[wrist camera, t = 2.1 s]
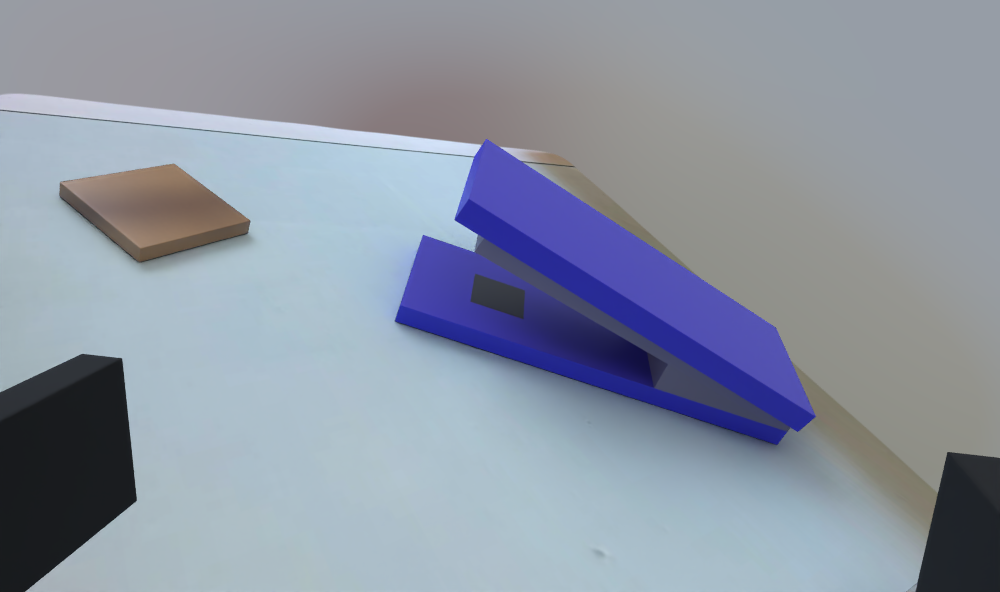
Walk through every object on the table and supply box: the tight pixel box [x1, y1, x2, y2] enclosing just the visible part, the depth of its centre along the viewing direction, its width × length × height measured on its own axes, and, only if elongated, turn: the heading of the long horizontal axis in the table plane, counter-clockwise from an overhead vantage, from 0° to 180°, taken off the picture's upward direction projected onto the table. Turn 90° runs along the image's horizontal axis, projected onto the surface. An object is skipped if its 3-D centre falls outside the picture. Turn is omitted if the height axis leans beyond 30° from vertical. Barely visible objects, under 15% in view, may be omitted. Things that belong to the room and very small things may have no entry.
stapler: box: [395, 139, 816, 445], centre depth 51 cm, size 12×28×10 cm, turn 86°
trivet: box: [59, 164, 250, 262], centre depth 48 cm, size 8×8×1 cm
